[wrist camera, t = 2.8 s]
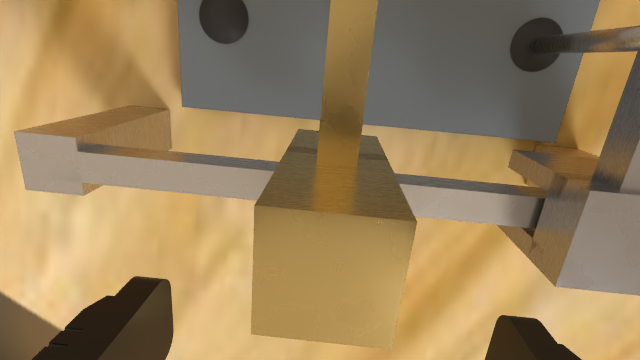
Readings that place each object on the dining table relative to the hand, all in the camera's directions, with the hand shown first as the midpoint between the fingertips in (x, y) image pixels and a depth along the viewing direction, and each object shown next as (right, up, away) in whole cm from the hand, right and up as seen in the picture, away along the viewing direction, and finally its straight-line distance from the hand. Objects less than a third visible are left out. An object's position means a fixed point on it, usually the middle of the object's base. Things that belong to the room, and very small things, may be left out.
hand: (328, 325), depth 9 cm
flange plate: (+4, +12, +15) cm, 20 cm away
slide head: (+1, +9, +15) cm, 17 cm away
